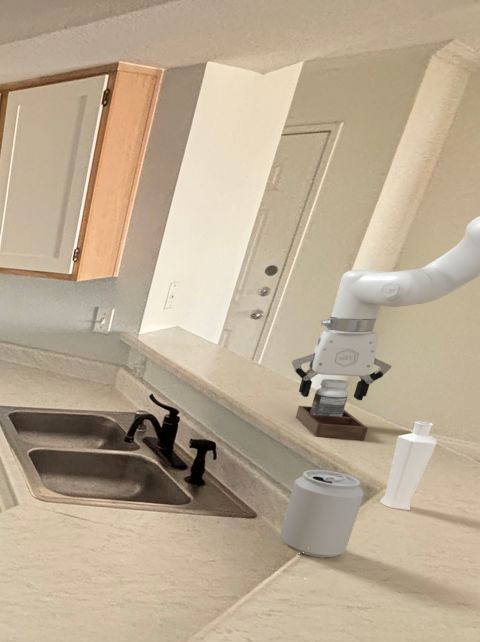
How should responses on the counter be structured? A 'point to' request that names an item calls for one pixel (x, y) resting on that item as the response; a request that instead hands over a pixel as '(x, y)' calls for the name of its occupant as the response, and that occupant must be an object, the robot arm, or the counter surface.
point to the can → (321, 513)
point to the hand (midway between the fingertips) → (330, 397)
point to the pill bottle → (330, 398)
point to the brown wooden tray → (332, 425)
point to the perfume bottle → (408, 465)
